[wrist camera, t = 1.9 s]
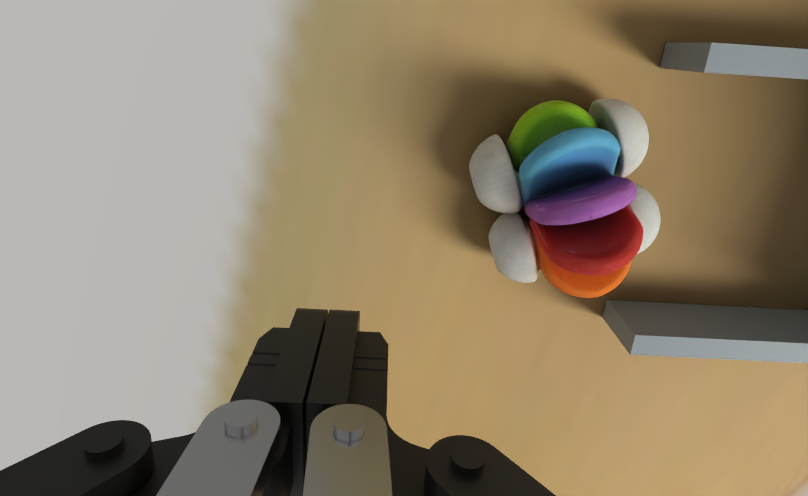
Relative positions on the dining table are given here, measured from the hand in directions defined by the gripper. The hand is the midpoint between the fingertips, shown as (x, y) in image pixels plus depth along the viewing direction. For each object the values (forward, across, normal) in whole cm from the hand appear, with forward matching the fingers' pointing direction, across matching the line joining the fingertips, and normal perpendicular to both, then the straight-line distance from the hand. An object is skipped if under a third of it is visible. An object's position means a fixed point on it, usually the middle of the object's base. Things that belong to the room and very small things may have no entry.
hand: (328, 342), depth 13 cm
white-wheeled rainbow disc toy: (+17, -10, 0) cm, 20 cm away
